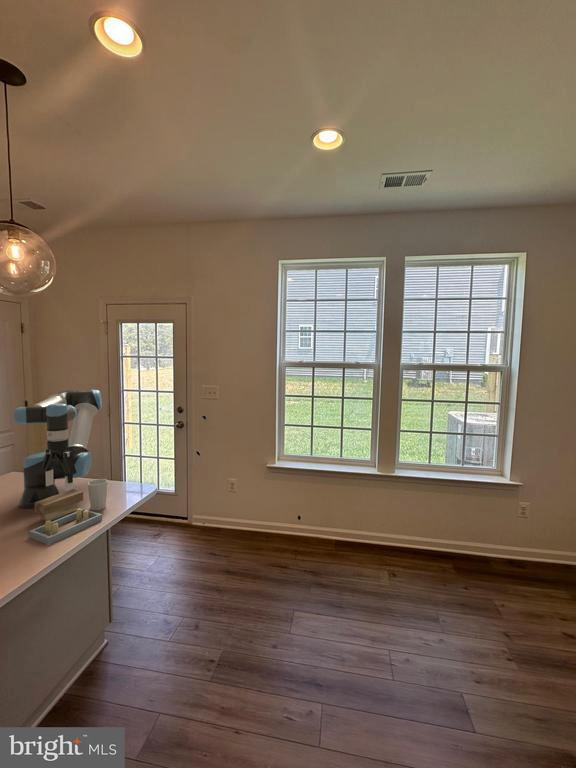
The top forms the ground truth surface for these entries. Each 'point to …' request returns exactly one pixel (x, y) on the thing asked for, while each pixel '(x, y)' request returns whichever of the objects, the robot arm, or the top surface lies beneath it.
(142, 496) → the top surface
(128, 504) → the top surface
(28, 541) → the top surface
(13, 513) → the top surface
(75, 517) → the frame
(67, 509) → the block
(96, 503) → the cup
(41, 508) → the board
